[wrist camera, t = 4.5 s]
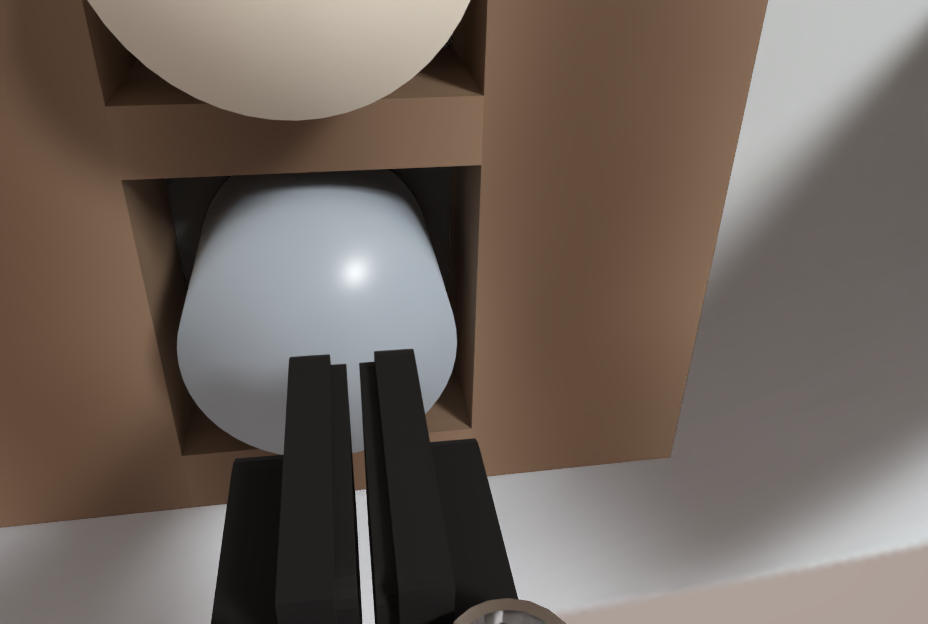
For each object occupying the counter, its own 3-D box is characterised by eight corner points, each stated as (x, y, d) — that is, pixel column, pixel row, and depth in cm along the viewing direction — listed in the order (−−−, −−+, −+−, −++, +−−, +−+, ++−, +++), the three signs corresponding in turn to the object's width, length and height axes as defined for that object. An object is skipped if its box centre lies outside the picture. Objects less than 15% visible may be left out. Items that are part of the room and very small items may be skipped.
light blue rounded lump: (427, 139, 15) (459, 221, 12) (428, 335, 17) (454, 445, 14) (184, 149, 14) (152, 238, 11) (219, 350, 17) (200, 469, 14)
